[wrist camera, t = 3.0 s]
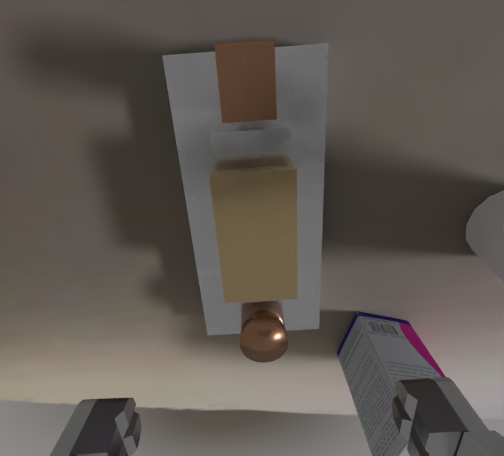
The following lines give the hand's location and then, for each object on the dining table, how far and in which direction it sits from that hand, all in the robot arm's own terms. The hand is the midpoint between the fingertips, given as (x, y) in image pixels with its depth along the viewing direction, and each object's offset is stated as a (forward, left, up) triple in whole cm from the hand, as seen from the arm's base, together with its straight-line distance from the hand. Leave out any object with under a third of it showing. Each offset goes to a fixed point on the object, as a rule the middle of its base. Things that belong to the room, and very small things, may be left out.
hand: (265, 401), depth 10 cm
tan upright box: (0, 0, -15) cm, 15 cm away
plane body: (0, 0, -17) cm, 17 cm away
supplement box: (+15, +11, -17) cm, 25 cm away
